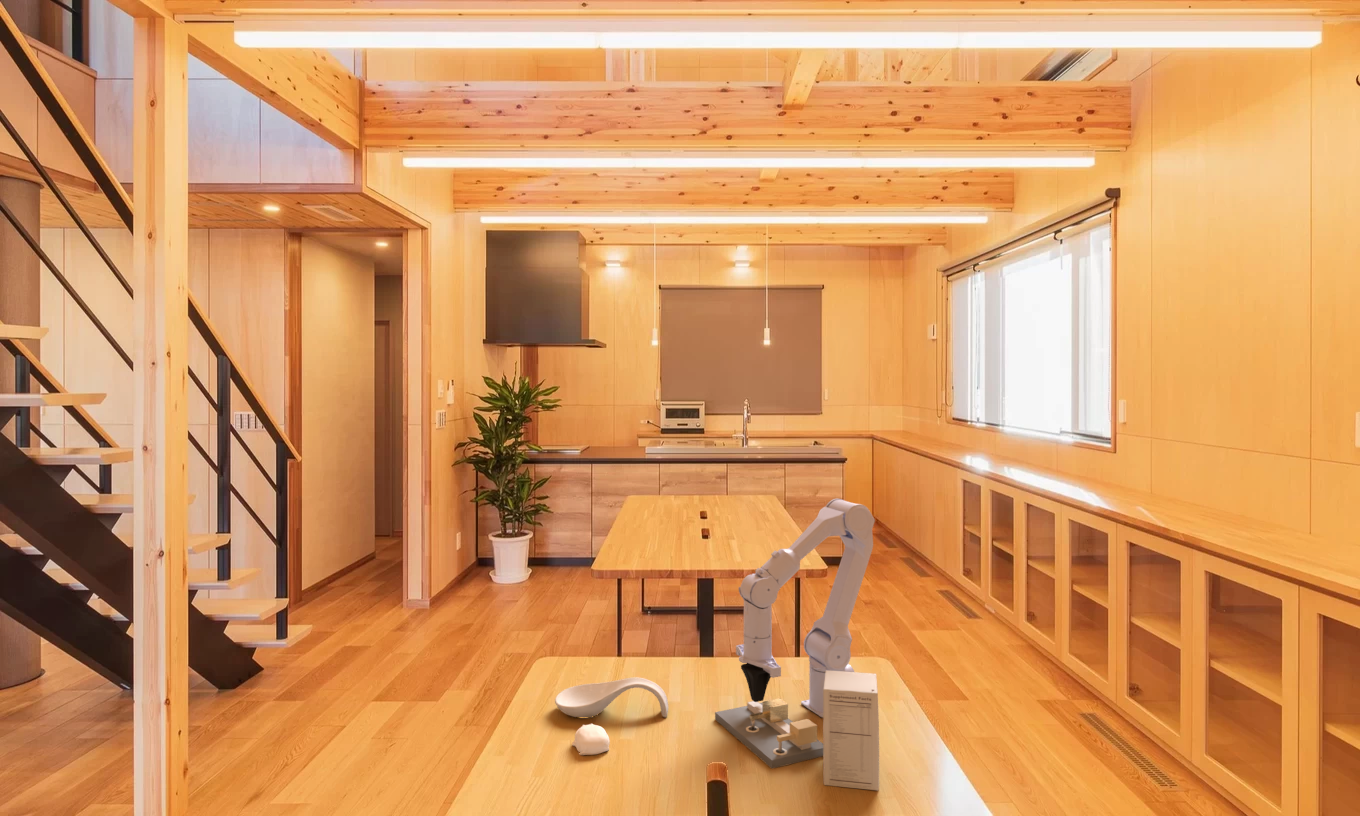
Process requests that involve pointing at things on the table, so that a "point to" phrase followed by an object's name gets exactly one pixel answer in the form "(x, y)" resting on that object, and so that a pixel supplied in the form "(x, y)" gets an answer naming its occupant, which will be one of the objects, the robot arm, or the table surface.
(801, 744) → the plate
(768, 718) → the sliding trammel head
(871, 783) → the supplement box
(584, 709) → the spoon rest
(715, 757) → the table surface
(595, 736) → the white rounded lump
